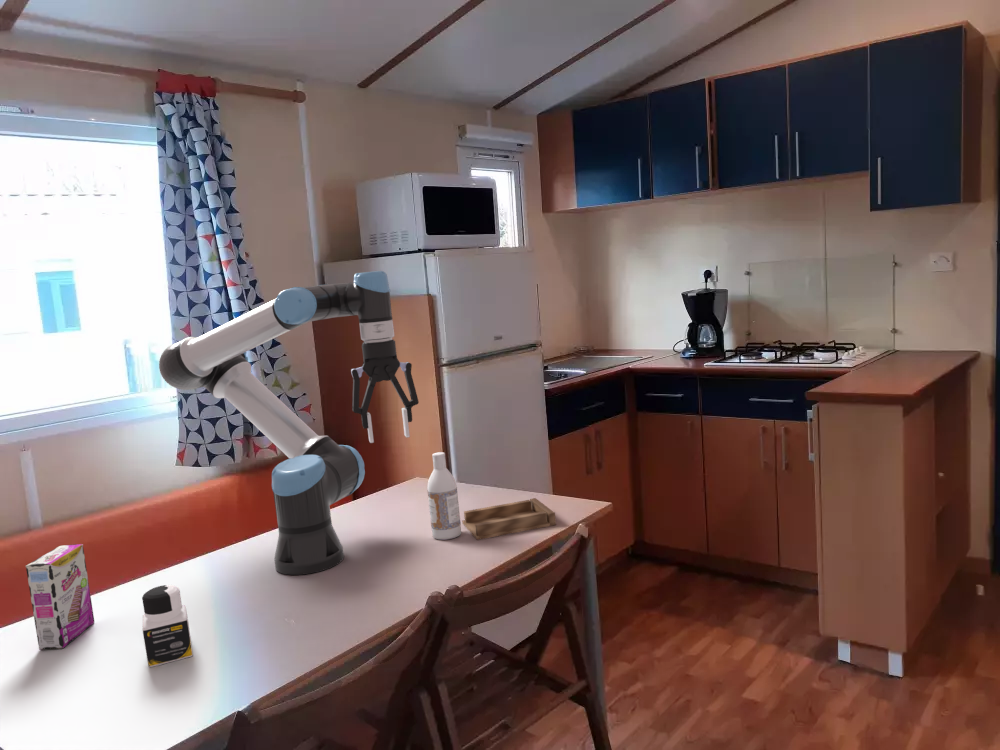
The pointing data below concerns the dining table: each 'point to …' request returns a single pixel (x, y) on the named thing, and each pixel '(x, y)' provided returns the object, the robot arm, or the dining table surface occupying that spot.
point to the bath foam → (443, 501)
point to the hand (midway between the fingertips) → (389, 438)
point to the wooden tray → (508, 518)
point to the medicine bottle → (165, 626)
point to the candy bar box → (60, 596)
